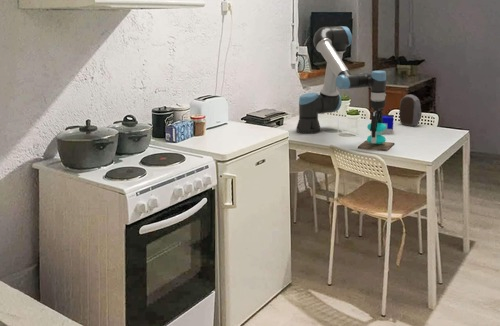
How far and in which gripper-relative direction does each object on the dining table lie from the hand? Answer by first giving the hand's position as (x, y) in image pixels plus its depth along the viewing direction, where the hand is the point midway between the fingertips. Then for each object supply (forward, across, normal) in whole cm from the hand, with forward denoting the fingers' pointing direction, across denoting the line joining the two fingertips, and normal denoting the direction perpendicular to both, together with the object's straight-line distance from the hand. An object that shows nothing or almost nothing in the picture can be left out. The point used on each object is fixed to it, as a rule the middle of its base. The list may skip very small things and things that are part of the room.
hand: (376, 140), depth 287 cm
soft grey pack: (+3, +65, -5) cm, 65 cm away
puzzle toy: (+3, +37, +5) cm, 37 cm away
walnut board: (+3, 0, 0) cm, 3 cm away
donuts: (+1, 0, 0) cm, 1 cm away
